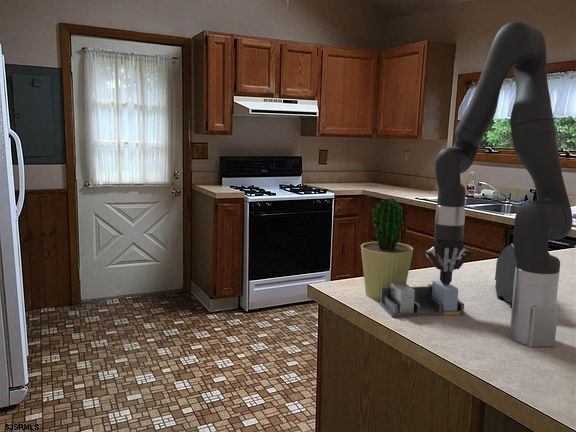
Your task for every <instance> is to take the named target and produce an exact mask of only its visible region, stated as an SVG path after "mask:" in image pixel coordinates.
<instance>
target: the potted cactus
mask: <svg viewBox="0 0 576 432" xmlns="http://www.w3.org/2000/svg"><path fill="white" fill-rule="evenodd" d="M402 206H403V205H400V204H399V202H398V200H397V197H396V198H393V197H388V198H384V199H382V200H381V201H380V203H377V205H376V207H375V208H374V209H371V211H373V214H372V216H373V218H372V219H371V221H373V225H372V227H375V229H376V230H375V236H376V240H377V241H369V242H364V243H362V244H361V245H360V249H361V251H360V252H361V253H360V254H361V261H362V271H363V272H362V273H363V278H364V289H365V290H364V291H365V295H366V296H367V297H369V298H371V299H375V300H378V301H381V288H387V287H391V282H405V283H406V284H407V283H408V282H407V281H408V277H409V271H410V267H411V261H412V257H413V252H414V248H413V247H412V246H411V245H409V244H406V243H401V242H402V241H401V239H400V237H401V236H402V234H401V233H402V232H401V231H402V230H403V231H404V230H405V228H406V227H404V223H405V222H403V221H404V219H403V216H405V215H406V214H405V213H404V215H403V211H404V210H403V208H404V206H403V207H402Z"/></svg>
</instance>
